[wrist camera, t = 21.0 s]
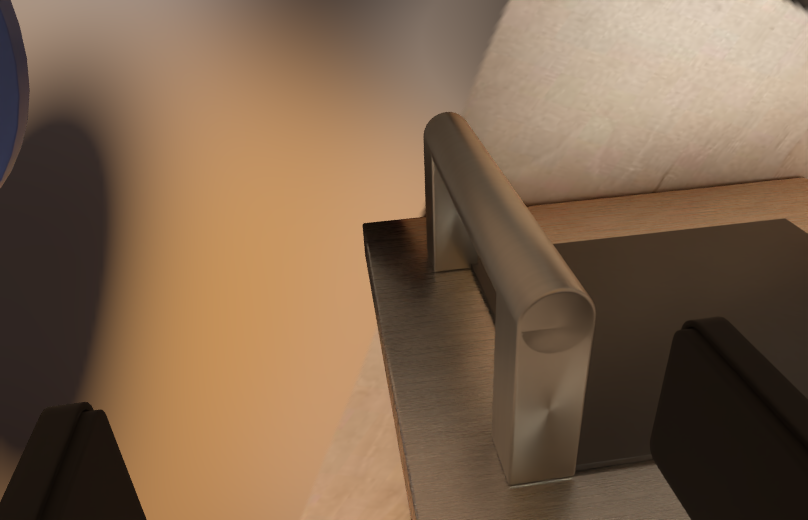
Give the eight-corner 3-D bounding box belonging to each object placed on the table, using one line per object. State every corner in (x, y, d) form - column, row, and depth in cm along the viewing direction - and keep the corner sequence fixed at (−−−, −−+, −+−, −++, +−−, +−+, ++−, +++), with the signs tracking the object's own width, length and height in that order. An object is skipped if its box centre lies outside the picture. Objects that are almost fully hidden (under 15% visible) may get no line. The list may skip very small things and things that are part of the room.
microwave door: (351, 95, 23) (429, 420, 9) (841, 53, 25) (1539, 270, 11) (365, 256, 27) (438, 671, 13) (794, 209, 29) (1276, 524, 15)
